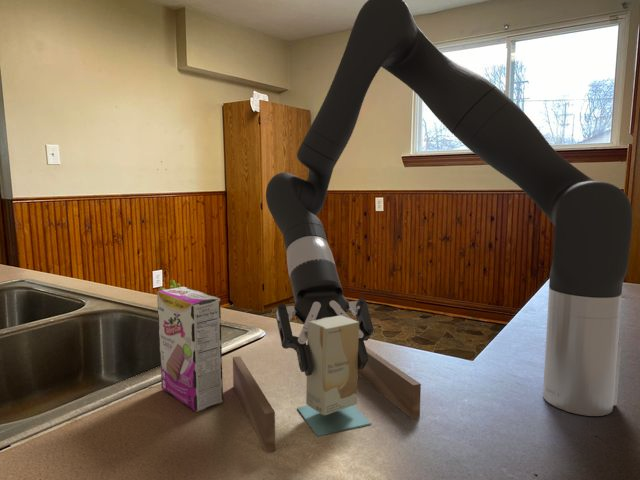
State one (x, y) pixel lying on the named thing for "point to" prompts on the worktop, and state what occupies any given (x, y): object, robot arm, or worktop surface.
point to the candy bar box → (190, 347)
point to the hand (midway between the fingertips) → (336, 370)
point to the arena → (375, 373)
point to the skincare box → (332, 364)
